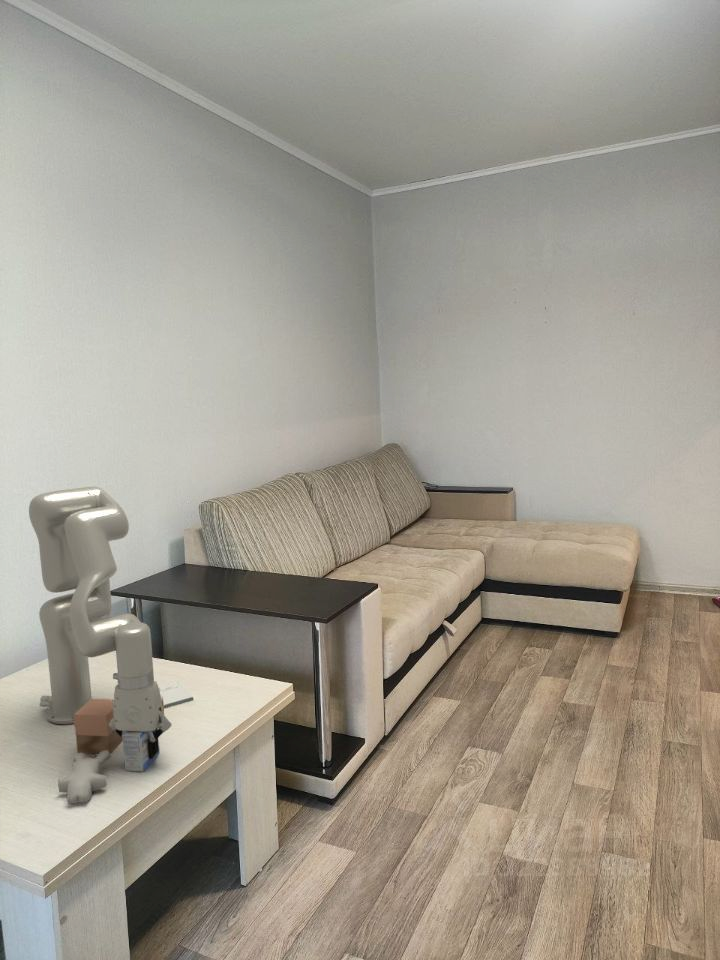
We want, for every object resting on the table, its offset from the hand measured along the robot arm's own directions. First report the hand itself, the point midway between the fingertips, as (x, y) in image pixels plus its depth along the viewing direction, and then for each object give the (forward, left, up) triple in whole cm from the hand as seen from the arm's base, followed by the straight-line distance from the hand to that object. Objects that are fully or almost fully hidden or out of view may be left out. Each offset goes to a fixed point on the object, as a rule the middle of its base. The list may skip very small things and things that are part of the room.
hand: (142, 754), depth 157 cm
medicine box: (0, 0, -2) cm, 2 cm away
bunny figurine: (-8, -10, -2) cm, 13 cm away
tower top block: (-13, +6, +3) cm, 15 cm away
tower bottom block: (-13, +6, -2) cm, 15 cm away
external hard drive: (-7, +33, -3) cm, 34 cm away
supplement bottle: (-5, +17, -2) cm, 18 cm away
